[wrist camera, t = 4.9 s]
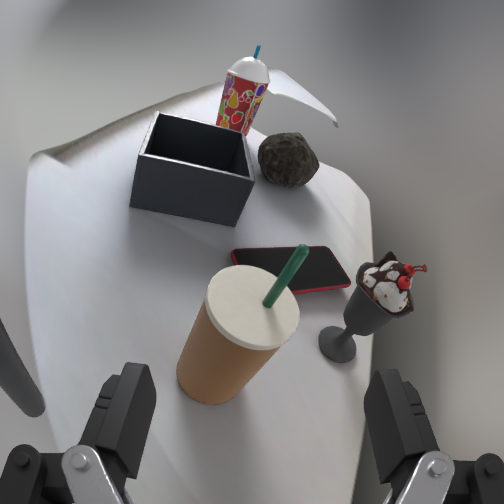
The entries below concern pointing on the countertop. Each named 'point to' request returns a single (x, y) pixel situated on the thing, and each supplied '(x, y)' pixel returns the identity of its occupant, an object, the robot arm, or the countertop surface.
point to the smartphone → (309, 273)
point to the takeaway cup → (238, 329)
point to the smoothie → (243, 93)
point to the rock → (287, 159)
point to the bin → (193, 170)
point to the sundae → (371, 305)
